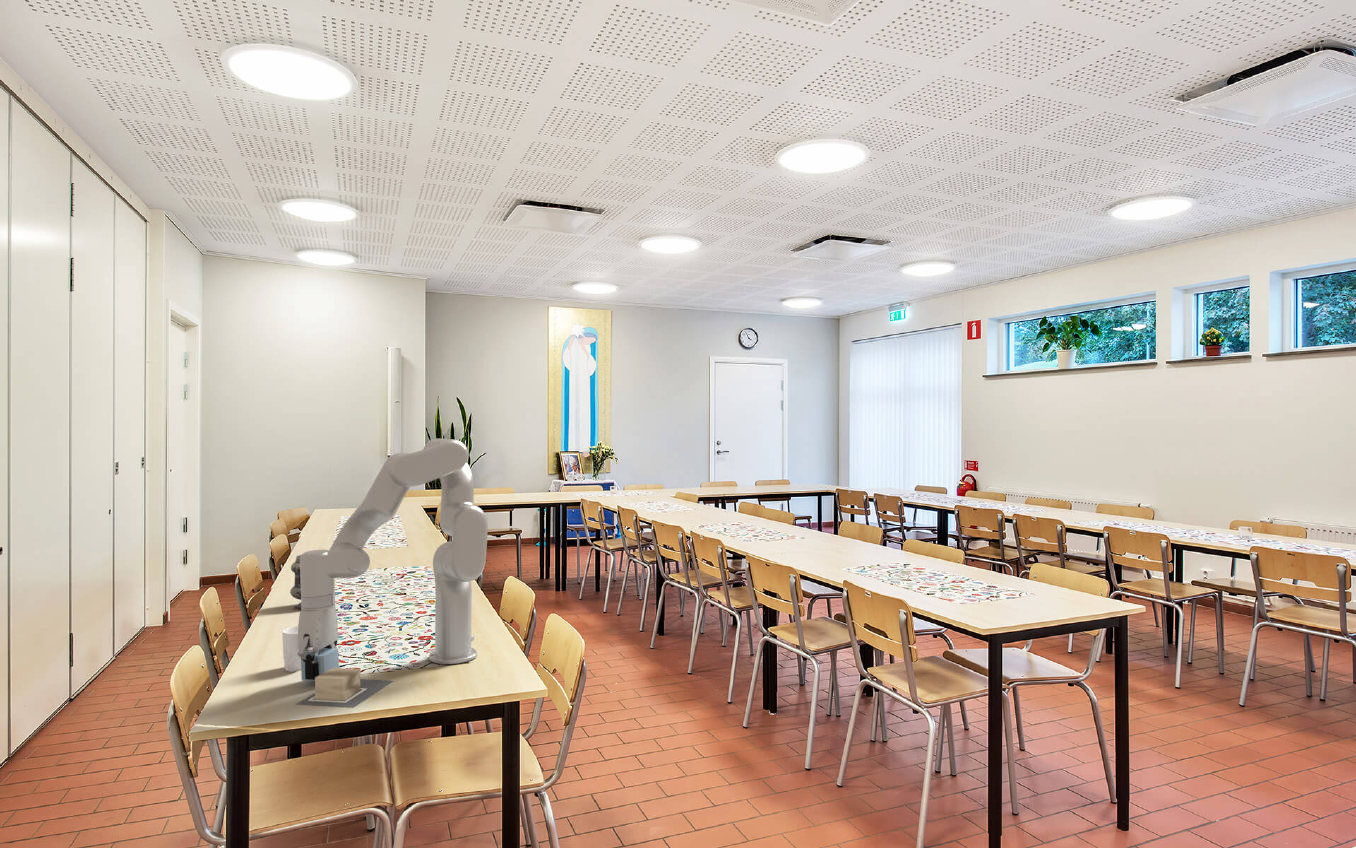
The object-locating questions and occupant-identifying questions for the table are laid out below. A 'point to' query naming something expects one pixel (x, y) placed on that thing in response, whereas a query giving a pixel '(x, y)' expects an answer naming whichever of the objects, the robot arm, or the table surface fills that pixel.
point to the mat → (365, 692)
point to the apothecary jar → (296, 582)
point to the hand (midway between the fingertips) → (320, 673)
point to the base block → (337, 684)
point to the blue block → (323, 661)
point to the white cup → (291, 649)
